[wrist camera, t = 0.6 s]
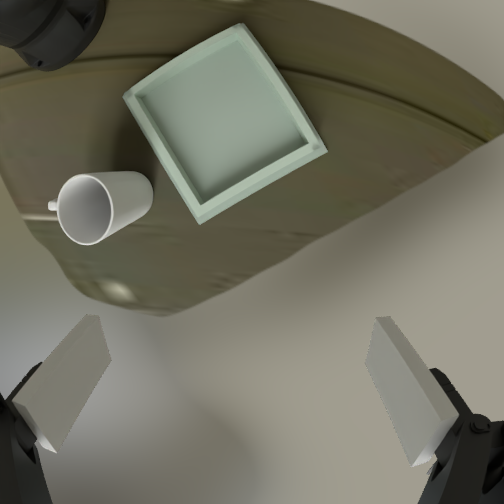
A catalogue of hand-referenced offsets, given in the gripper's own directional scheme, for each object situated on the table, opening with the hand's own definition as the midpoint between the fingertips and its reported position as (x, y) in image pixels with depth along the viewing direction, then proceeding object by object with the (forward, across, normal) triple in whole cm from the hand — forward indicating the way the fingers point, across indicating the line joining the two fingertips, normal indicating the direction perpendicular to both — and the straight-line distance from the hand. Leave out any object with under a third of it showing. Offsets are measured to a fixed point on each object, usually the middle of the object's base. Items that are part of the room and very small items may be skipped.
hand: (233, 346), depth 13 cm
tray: (+25, -3, +13) cm, 28 cm away
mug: (+25, -16, +4) cm, 30 cm away
